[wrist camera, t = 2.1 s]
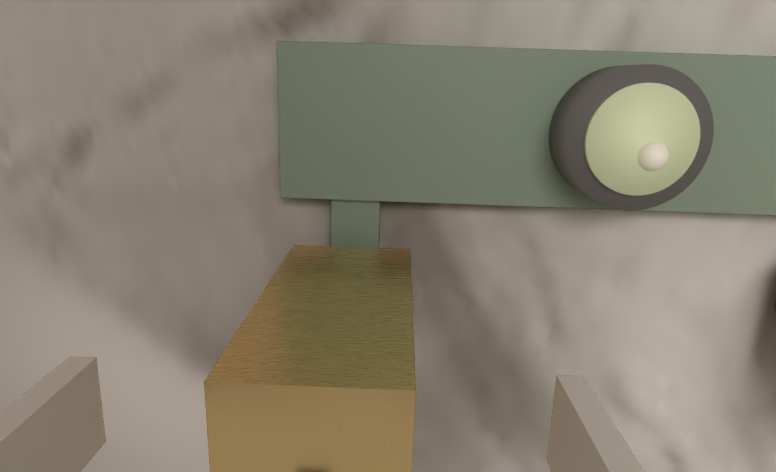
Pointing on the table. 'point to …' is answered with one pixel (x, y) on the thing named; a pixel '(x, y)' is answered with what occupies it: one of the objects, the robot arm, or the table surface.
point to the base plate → (523, 130)
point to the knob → (320, 369)
